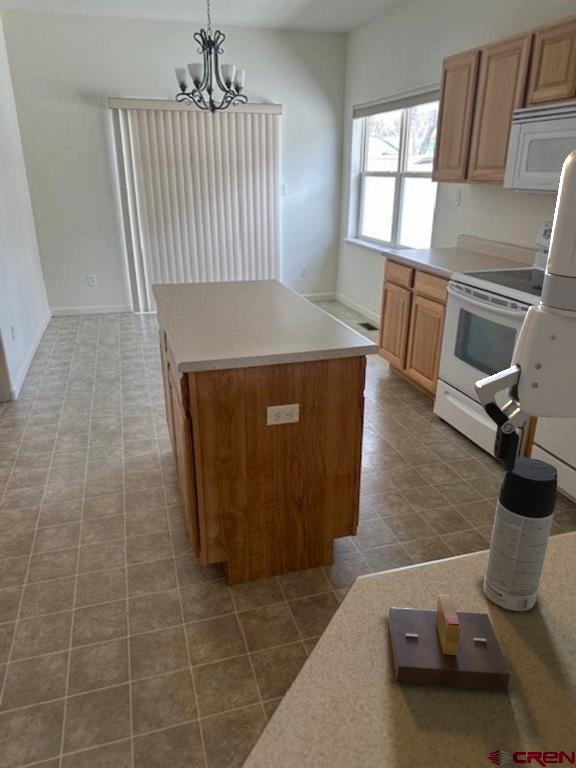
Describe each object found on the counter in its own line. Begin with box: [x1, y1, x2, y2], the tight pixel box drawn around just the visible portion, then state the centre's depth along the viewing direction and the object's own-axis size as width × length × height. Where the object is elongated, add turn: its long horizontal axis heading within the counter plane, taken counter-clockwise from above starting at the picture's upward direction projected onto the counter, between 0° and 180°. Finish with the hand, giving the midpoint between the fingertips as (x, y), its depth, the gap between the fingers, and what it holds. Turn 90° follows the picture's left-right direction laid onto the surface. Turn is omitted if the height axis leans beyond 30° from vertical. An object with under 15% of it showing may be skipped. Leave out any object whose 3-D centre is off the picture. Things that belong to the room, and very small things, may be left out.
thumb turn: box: [435, 594, 461, 655], centre depth 61 cm, size 5×2×4 cm, turn 176°
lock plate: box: [387, 607, 511, 690], centre depth 63 cm, size 12×9×3 cm
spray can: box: [483, 456, 559, 612], centre depth 69 cm, size 7×7×20 cm
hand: (554, 467), depth 53 cm, fingers open, 9 cm apart
